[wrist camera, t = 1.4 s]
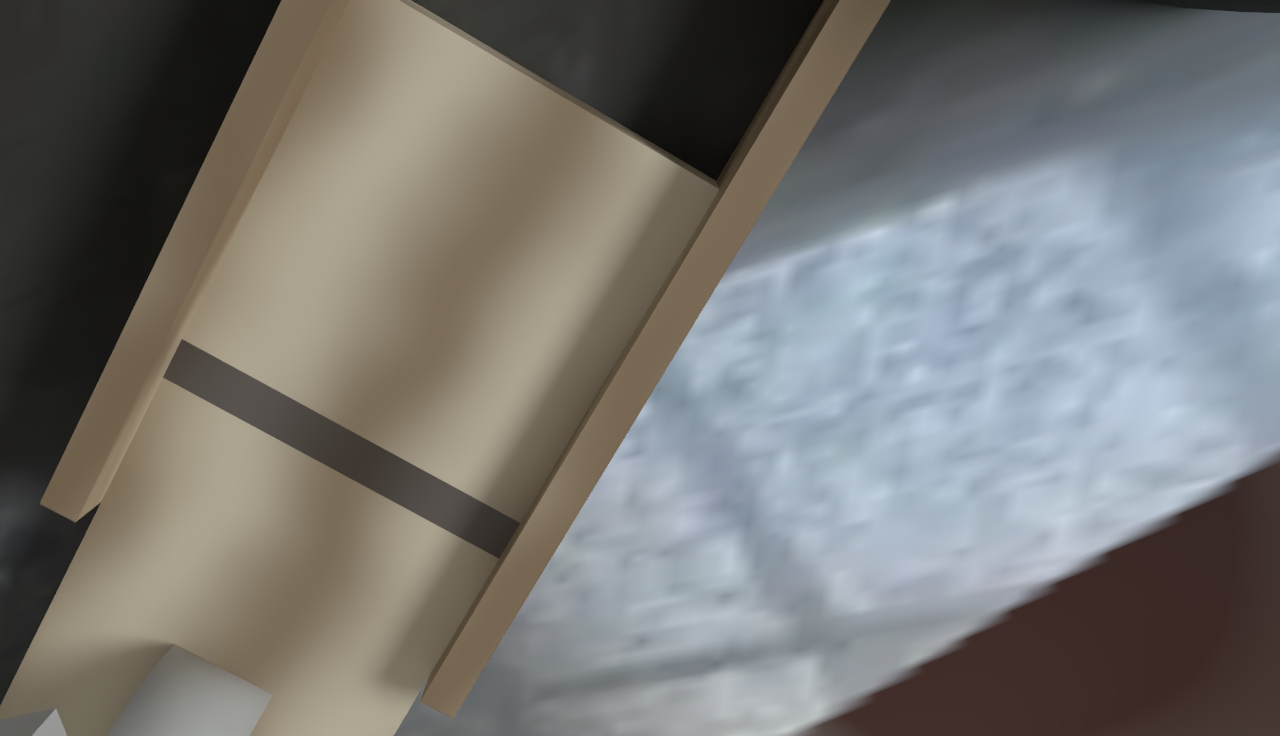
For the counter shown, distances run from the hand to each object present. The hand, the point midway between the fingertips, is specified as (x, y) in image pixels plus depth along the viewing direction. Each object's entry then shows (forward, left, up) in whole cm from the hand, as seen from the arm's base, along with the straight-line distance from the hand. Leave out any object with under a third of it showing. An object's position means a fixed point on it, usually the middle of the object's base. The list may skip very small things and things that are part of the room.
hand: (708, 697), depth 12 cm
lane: (-6, -6, -21) cm, 23 cm away
